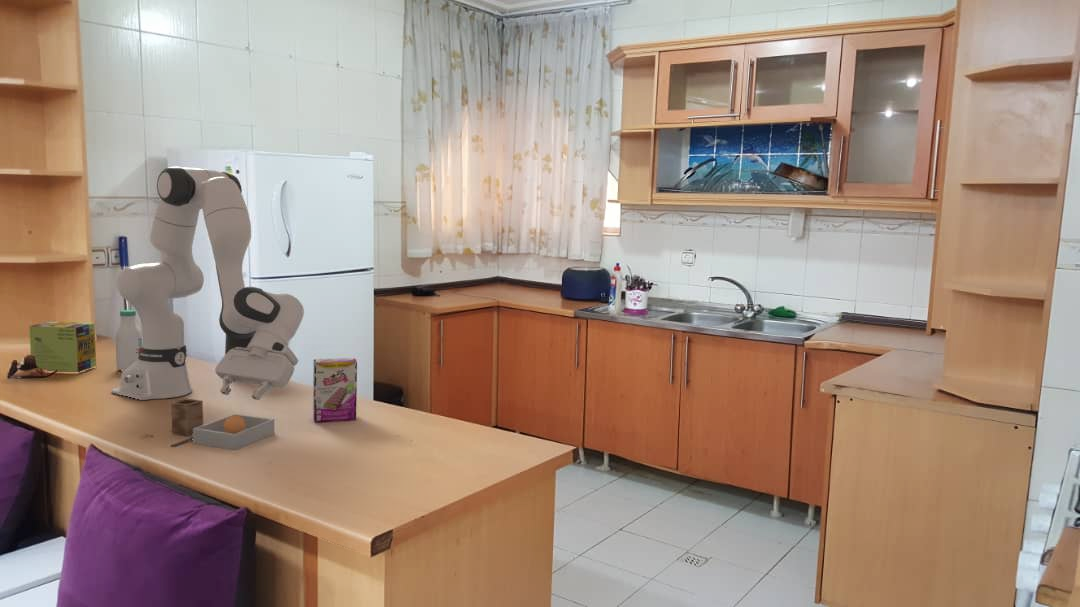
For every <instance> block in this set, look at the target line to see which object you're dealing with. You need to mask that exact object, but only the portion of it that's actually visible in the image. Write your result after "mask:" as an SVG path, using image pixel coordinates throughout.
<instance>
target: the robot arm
mask: <svg viewBox="0 0 1080 607" xmlns="http://www.w3.org/2000/svg"><path fill="white" fill-rule="evenodd" d="M156 189H157V193H158V196H159V199H158V202H157V205H156V209H155V213H154V217H153V222H152V226H151V229H150V233H149V234H150V235H149V239H150V241H149V242H150V243H151V245H152V247H154V249H156V250H157V251H159V252H160V260H159V261H158V262H147V263H137V264H133V265H130V266H126V267H125V268H122V269H121V270H120V271H119V273H118V274H117V277H116V280H115V281H116V283H115V284H116V285H115V286H116V289H117V291H118V294H119V295H120V296H121V297H122V298H123V299H124V300H126V301H128V302H129V303H130V304H131V305H132V307H133V308H134V310H135V311H136V313H137V315H138V317H139V320H140V323H141V324H140V325H141V336H142V348H140V349H136V350H139V351H137V352H136V353H140V354H139V357H138V360H137V361H136V362H134V363H133V364H132V365H131V366H129V367H128V368H127V369H126V370H124V371H121V372H122V373H121V375H120V385H119V386H116V387H114V388H112V389H111V392H113V393H112V394H114V393H116V394H115V395H117V394H121V395H124V396H123V397H125V396H128V397H127V398H129V397H132V398H131V399H133V398H135V399H134V400H137V399H139V400H138V401H147V400H154V399H155V400H157V399H159V400H160V399H168V398H169V399H170V398H171V399H172V398H177V397H182V396H186V395H188V394H190V393H191V392H192V391H193V389H192V383H190V378H189V372H188V365H187V364H188V363H187V360H186V358H187V350H188V349H187V345H186V344H185V322H184V320H183V318H182V317H181V316H180V315H178V314H177V313H175V312H173V311H172V310H171V308H170V305H169V300H172V299H180V298H186V297H189V296H192V295H194V294H197V293H199V292H200V291H201V290H202V288H203V286H204V280H205V279H204V274H203V271H202V269H201V268H200V266H199V265H198V264H197V263H196V261H195V259H194V257H193V256H194V255H193V245H194V244H193V243H194V240H195V234H196V229H197V225H198V220H199V215H200V211H201V210H202V213H203V218H204V223H205V227H206V231H207V233H208V234H207V236H208V238H209V241H210V242H209V243H210V244H211V245H210V247H211V251H212V255H213V258H214V263H215V270H216V275H217V281H218V286H219V291H220V298H221V308H220V314H219V319H218V320H219V326H220V328H221V330H222V331H223V333H224V334H225V335H226V334H227V335H228V336H230V337H232V338H235V339H247V338H249V337H251V336H253V335H254V336H253V338H252V339H251V341H250V343H249V344H248V346H247V347H239V346H238V347H236V348H233V349H230V350H229V352H228V353H226V355H225V354H224V356H223V357H221V360H220V361H219V362H218V364H217V365H216V367H215V369H214V370H215V373H216V375H217V376H218V377H219V378H221V379H222V386H221V389H220V390H219V392H220V393H221V394H222V395H226V396H229V394H230V393H231V391H232V388H231V387H230V385H231V384H233V382H241V383H246V384H247V383H248V384H253V385H261V386H260V387H259V388H258V389H257V390H256V389H254V390H253V392H252V393H251V398H253V400H259V401H260V400H261V399H262V397H263V395H265V394H266V393H267V392H268V391H270V390H271V388H272V387H276V388H280V389H282V388H284V387H286V386H287V385H288V384H289V382H290V381H291V378H292V376H293V374H294V372H295V366H297V365H298V363H299V359H298V357H297V356H296V355H295V354H296V353H294V352H293V351H292V349H291V348H290V347H289V343H290V341H291V339H293V338H294V337H295V334H297V331H298V330H299V327H300V326H301V323H302V321H303V318H304V314H305V311H304V310H305V309H304V306H303V304H302V302H301V301H300V300H299V299H298V298H297V297H295V296H293V295H292V294H289V293H279V294H278V293H277V294H276V293H271V292H268V291H264V290H263V289H262V288H260V289H259V287H257V286H256V287H255V286H245V285H246V284H245V280H244V275H243V263H244V258H245V254H246V253H247V249H248V247H249V245H250V242H251V239H252V223H251V219H250V214H249V211H248V207H247V204H246V202H245V199H244V196H243V194H242V193H243V192H242V191H243V188H242V184H241V182H240V180H239V178H238V177H237V176H235V175H233V174H231V173H229V172H226V171H218V170H215V169H213V170H212V169H208V168H202V167H200V168H195V167H182V166H170V167H169V166H168V167H166V168H164V169H163V170H161V172H160V174H159V175H158V177H157V182H156ZM261 289H262V290H261ZM235 349H236V350H235ZM121 395H120V396H121Z"/></svg>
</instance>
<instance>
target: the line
mask: <svg viewBox="0 0 1080 607" xmlns="http://www.w3.org/2000/svg"><path fill="white" fill-rule="evenodd" d="M192 439H193V436H192V437H191V436H190V437H189V438H187V439H184V440H181V441H177V442H176V443H173V444H171V445H170V447H172V446H175V447H177V445H178V446H180V445H179V444H181V445H182V443H183V444H185V443H184V442H186V443H188V442H187V441H189V440H191V441H193V440H192ZM189 442H190V441H189Z"/></svg>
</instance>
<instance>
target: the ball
mask: <svg viewBox="0 0 1080 607" xmlns="http://www.w3.org/2000/svg"><path fill="white" fill-rule="evenodd" d="M245 426H246V425H245V421H244V420H243V419H242V418H241V417H239V416H231V417H229V418H227V419H226V421H225V422H224V431H225V432H226V433H231V434H236V433H238V432H241V431H243V430H245Z"/></svg>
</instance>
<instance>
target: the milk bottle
mask: <svg viewBox="0 0 1080 607" xmlns="http://www.w3.org/2000/svg"><path fill="white" fill-rule="evenodd" d="M136 313H137V311H136V309H123V310H120V311H119V316H120V323H119V326H118V328H117V330H116V334H115V356H116V357H115V358H116V360H115V361H116V370H117V369H118V370H126V369H127V368H128V367H129V366H131V365H132V364H133V363H134V362H136V361H137V360H138V357H139V354H140V353H136V352H137V351H139V350H136V349H140V348H142V347H143V338H142V330H141V329H140V327H139V324H137V320H136V317H137V314H136ZM118 370H117V371H118Z"/></svg>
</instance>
